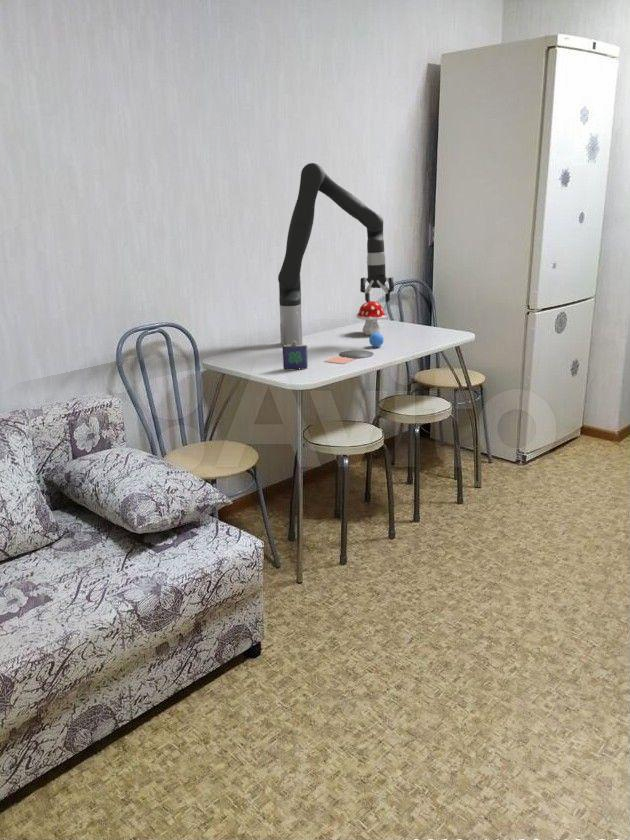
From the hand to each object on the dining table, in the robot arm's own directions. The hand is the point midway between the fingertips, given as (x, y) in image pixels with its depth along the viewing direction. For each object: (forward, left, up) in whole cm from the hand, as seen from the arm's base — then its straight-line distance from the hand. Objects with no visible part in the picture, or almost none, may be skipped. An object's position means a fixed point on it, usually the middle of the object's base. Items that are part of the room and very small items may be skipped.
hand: (377, 302), depth 302 cm
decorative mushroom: (-1, +20, -18) cm, 27 cm away
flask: (-34, -42, -18) cm, 57 cm away
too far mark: (-17, -31, -18) cm, 39 cm away
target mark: (-10, -21, -18) cm, 29 cm away
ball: (-1, -8, -15) cm, 17 cm away
